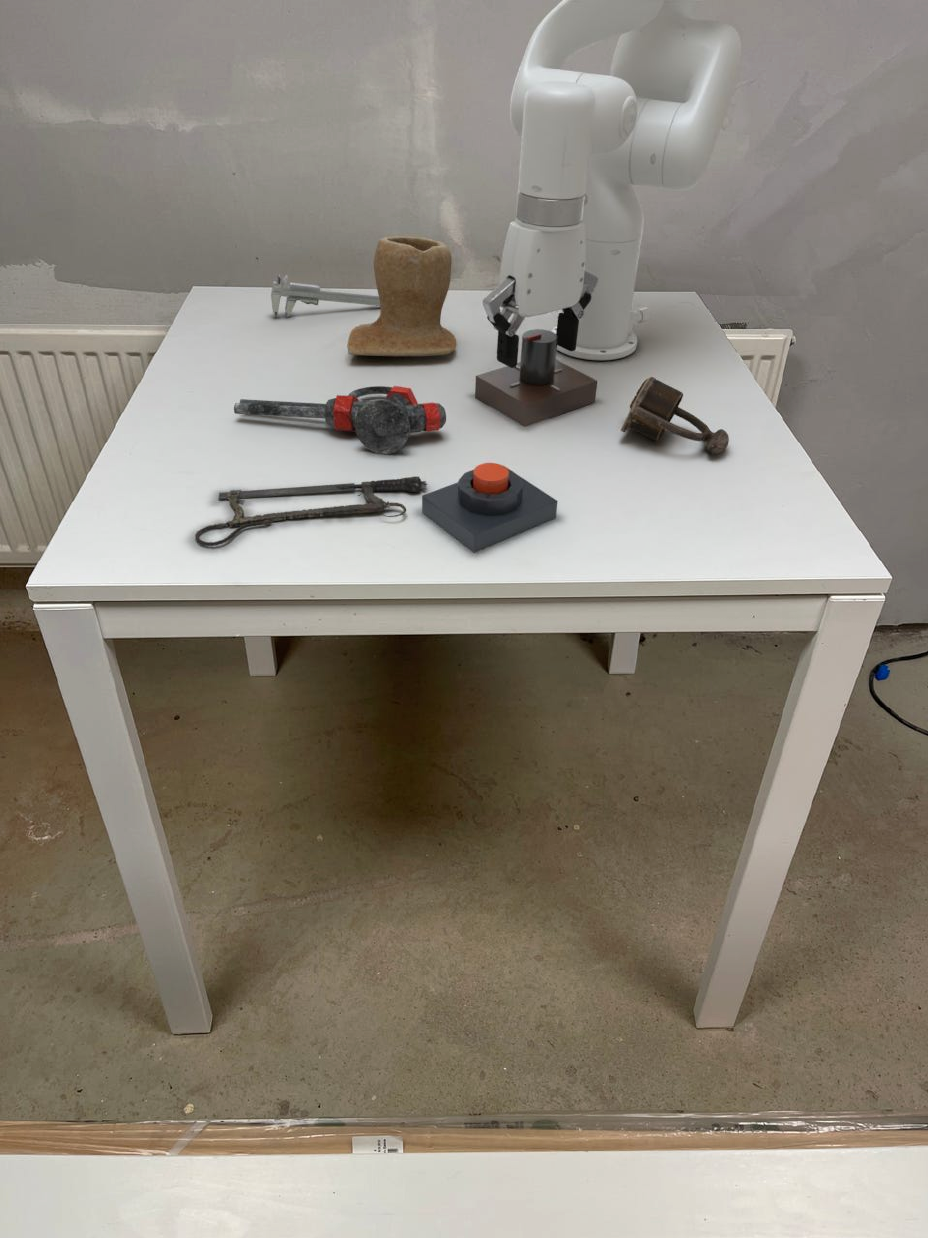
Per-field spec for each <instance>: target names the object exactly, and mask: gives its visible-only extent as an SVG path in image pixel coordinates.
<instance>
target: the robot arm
mask: <svg viewBox="0 0 928 1238" xmlns="http://www.w3.org/2000/svg"><path fill="white" fill-rule="evenodd" d="M703 2H704V0H561V1H560V2H559V3H558V4H557V5H556V6H555V7H553V8H552V9H551V11H549V12H548V14H546V16H545V17H543V19H542V20H541V21H540V22H539V24H537V26H536V28H535V30H534V31H533V33H532V35H531V36H530V39H529V41H528V43H527V46H526V48H525V52H524V54H523V57H522V59H521V63H520V64H519V68H518V71H517V74H516V75H515V79H514V84H513V87H512V91H511V95H510V102H509V119H510V123H511V127H512V129H513V130H514V132H515V134H516V135H517V136H518V137H520V138H521V144H520V155H519V156H520V157H519V172H518V184H517V189H518V190H517V197H516V198H517V200H516V213H515V214H516V215H515V220H514V221H511V222H510V224H509V225H508V229H507V233H506V237H505V241H504V246H503V250H502V256H501V262H500V269H499V278H498V286H497V287H496V288H494V289H493V290H492V291H491V292H490V293H489V294H487V295H486V296H485V297H484V298H483V299H482V306H483V308H484V311H485V313H486V315H487V321H489V323H490V324H491V325H492V327H493V329H494V330H496V331H497V343H496V360H497V362H498V363H501V364H503V365H505V366H508V367H510V368H514V367H516V365H517V363H518V359H519V346H520V345H519V344H520V335H518V334H516V333H517V331H518V330H519V328H520V326H521V325H522V324H523V322H524V321H525V318H531V317H532V318H533V317H536V316H541V315H545V314H548V313H549V314H550V313H552V312H557V311H562V312H559V313H558V316H557V323H556V326H554V327H553V328H552V329H551V330H550V331H551V332H554V333H555V334H556V335H557V336H558V342H557V351H558V352H560V353H562V354H564V355H567V356H569V357H572V358H577V359H583V360H587V361H612V360H618V359H623V358H625V357H628V356H630V355H631V354H633V353H634V352H635V351H636V350H637V347H638V337H637V335H636V334H635V333H634V331H633V328H634V327H635V326H636V325H638V324H641V323H644V322H648V321H649V320H650V319H651V317H652V312H651V310H650V308H649V307H645V306H644V307H641V308H638V309H636V310H633V308H632V306H633V299H634V292H635V285H636V279H637V271H638V266H639V259H640V251H641V245H642V239H643V231H644V223H645V222H644V221H645V220H644V219H645V217H644V210H643V207H642V203H641V201H640V198H639V195H638V194H637V192H636V189H635V187H634V186H643V187H650V188H654V189H655V188H656V189H662V190H671V191H687V190H691V189H693V188H694V187H696V185H697V184H698V183H700V181H701V180H702V179H703V177H704V174H705V172H706V170H707V168H708V166H709V164H710V161H711V158H712V155H713V152H714V149H715V147H716V144H717V141H718V139H719V136H720V132H721V129H722V127H723V124H724V121H725V118H726V116H727V112H728V109H729V107H730V104H731V102H732V99H733V96H734V93H735V90H736V86H737V83H738V79H739V74H740V70H741V63H742V57H743V56H742V55H743V54H742V51H743V49H742V40H741V37H740V34H739V32H738V31H737V29H735V27H734V26H732V25H730V24H729V23H726V22H724V21H718V20H710V19H699V18H698V16H699V14H700V11H701V8H702V5H703ZM617 37H618V42H617V44H616V47H615V48H614V49H615V50H614V53H613V56H612V61H611V64H610V71H609V72H610V73H609V75H606V74H598V73H589V72H585V71H576V70H568V69H567V70H566V69H561V68H562V67H564V65H565V64H566V63H567V62H568V61H569V60H571V59H572V58H573V57H574V56H575V55H577V54H578V53H580V52H582V51H583V50H585V49H587V48H591V47H592V46H594V45H596V44H600V43H602V42H605V41H608V40H610V39H613V38H614V39H615V38H617ZM501 308H502V309H501ZM512 315H513V317H512V318H511V316H512ZM510 318H511V320H510V321H509V319H510Z"/></svg>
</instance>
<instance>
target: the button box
mask: <svg viewBox="0 0 928 1238" xmlns="http://www.w3.org/2000/svg"><path fill="white" fill-rule="evenodd" d="M503 466H504V467H506V466H505V465H503ZM506 468H507V469H508V471H509V477H508V489H507V490H506V491H505V492H502V493H500V494H485V493H481V492H477V491H476V490H475V489H474V488H473V473H474V469H471V470H469V471H465V472H464V473H463V474H462V475H461V477H460V478H459V479H458V481H457V482H455V483H452V484H450V485H447V486H444V487H441V488H439V489H436V490H434V491H431V492H428V493H425V494H422V496H421V513H422V514H423V515H424V516H425V517H426V518H428V519H429V520H430V521H432V522H433V523H434V524H436V525H437V527H438V526H439V528H441V529H442V530H444V531H445V532H446V533H448V534H449V535H450V536H451V537H452V538H454V539H455V540H456V541H458V542H459V543H460V544H461V545H463V546H464V547H466V549H468V550H469V551H470V552H471V553H473V554H476V553H477V552H481V551H482V550H484V549H487V548H489V547H492V546H495V545H496V544H499V543H501V542H503V541H506V540H509V539H511V538H513V537H515V536H518V535H520V534H522V533H525V532H527V531H529V530H532V529H534V528H536V527H539V526H541V525H544V524H545V523H549V522H550V521H552V520H555V519H556V518H557V512H558V511H557V510H558V500H557V499H555V498H554V497H552V496H551V495H549V494H548V493H546V492H545V491H543V490H542V489H540V488H538V487H537V486H535V485H534V484H533V483H531V482H529V480H527V479H525V478H524V477H521V476H520V475H519V474H517V473H516V472H514V471H513V470H511V469H509V468H508V467H506Z"/></svg>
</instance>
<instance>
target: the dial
mask: <svg viewBox="0 0 928 1238" xmlns="http://www.w3.org/2000/svg"><path fill="white" fill-rule="evenodd" d="M551 331H552V330H547V329H539V328H537V329H536V328H535V329H529V330H526V331H524V332H523V333H522V335H521V349H520V361H519V362H520V376H519V377H520V379H521V380H522V381H523V382H525V383H528V384H532V385H545V384H549V383H551V382H552V381H553V380H554V373H555V362H556V360H557V351H558V350H557V342H558V336H557V335H556V334H555V333H554V332H551Z"/></svg>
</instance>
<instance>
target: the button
mask: <svg viewBox="0 0 928 1238" xmlns="http://www.w3.org/2000/svg"><path fill="white" fill-rule="evenodd" d="M504 466H505V465H504V464H503V465H502V464H500V463H497V462H496V463H495V462H485V463H480V464H478V465H477V466H475V467H474V468H473V470H474V473H473V488H474V489H475V490H476V491H477V492H481V493H485V494H500V493H502V492H505V491H506V490H507V489H508V477H509V471H508V469H509V468H508V467H507V468H508V469H507V468H506V466H505V467H504Z"/></svg>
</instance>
